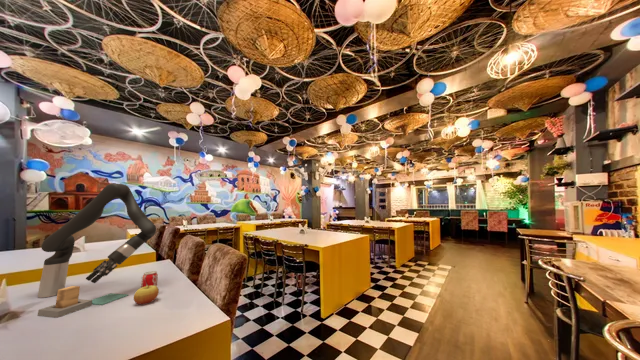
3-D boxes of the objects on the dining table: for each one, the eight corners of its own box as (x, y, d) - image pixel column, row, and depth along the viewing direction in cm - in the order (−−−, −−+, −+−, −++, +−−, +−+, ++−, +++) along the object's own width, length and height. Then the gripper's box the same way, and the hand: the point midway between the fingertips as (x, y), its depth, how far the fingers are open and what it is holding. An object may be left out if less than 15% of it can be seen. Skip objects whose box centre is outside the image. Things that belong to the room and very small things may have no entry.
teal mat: (83, 303, 105) (83, 302, 105) (110, 294, 117) (110, 293, 117) (102, 305, 103) (102, 303, 103) (128, 295, 115) (128, 294, 115)
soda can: (149, 297, 111) (151, 274, 113) (136, 298, 112) (138, 274, 113) (159, 292, 118) (161, 270, 120) (147, 292, 118) (149, 270, 120)
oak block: (54, 312, 96) (58, 289, 98) (69, 307, 101) (72, 286, 103) (62, 313, 96) (66, 290, 97) (76, 308, 100) (80, 286, 102)
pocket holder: (37, 315, 94) (38, 309, 94) (73, 304, 105) (73, 298, 106) (57, 317, 91) (58, 311, 92) (91, 305, 103) (92, 300, 104)
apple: (152, 305, 102) (153, 288, 104) (128, 308, 100) (130, 290, 101) (161, 297, 112) (162, 281, 113) (139, 299, 109) (141, 283, 110)
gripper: (111, 248, 119) (78, 275, 107) (121, 250, 112) (87, 279, 100) (122, 256, 123) (92, 282, 111) (132, 258, 116) (100, 287, 104)
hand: (89, 281), depth 106 cm, fingers open, 8 cm apart
